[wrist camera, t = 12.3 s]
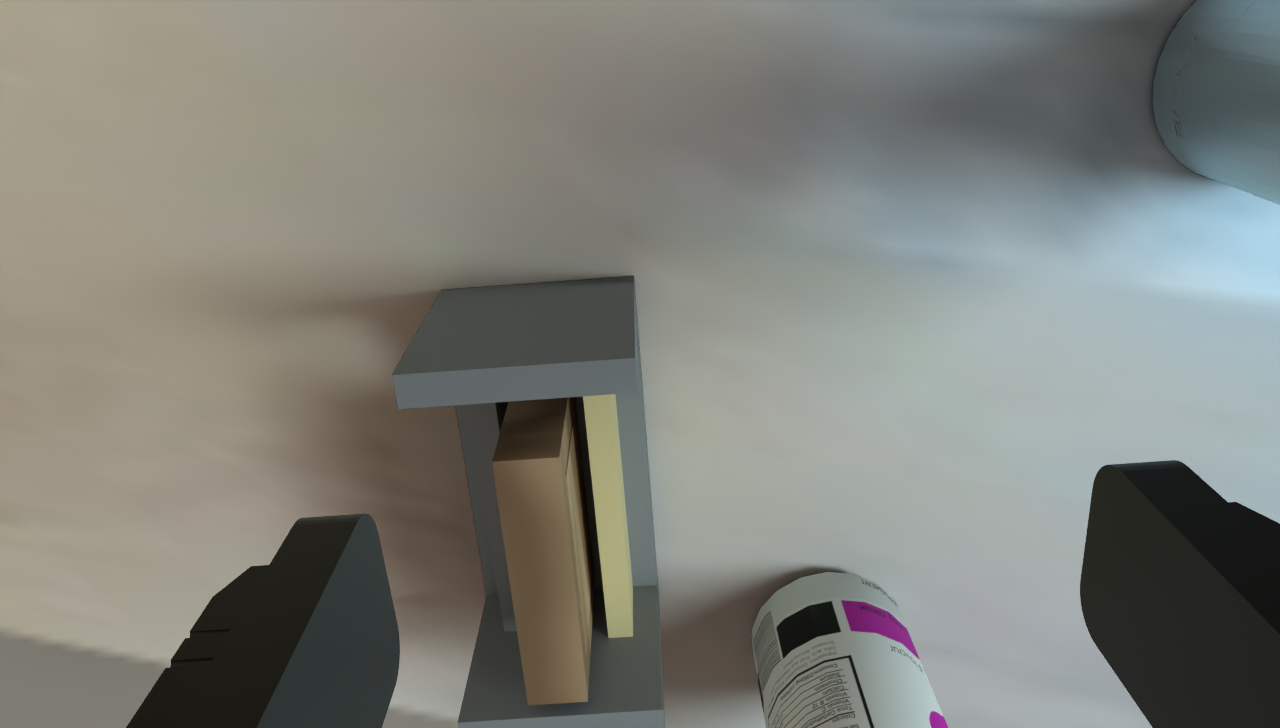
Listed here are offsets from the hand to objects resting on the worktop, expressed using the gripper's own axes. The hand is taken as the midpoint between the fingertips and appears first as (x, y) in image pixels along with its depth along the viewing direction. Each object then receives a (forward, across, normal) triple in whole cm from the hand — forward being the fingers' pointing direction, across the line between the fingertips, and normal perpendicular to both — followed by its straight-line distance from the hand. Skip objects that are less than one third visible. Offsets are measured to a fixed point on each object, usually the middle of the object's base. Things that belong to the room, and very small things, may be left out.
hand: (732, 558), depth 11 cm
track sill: (+33, +6, +16) cm, 37 cm away
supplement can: (+33, -7, +28) cm, 44 cm away
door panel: (+32, +6, +17) cm, 37 cm away
